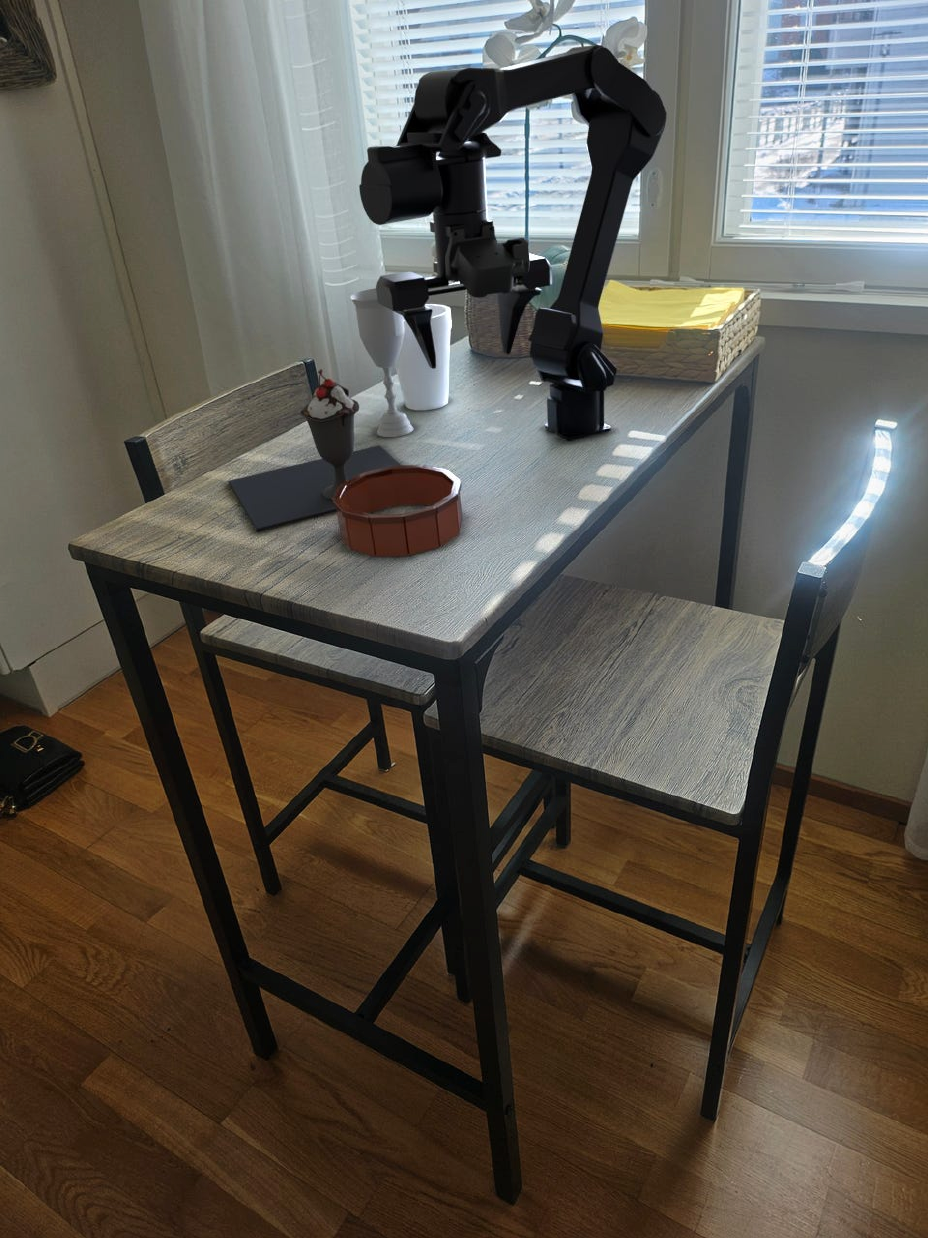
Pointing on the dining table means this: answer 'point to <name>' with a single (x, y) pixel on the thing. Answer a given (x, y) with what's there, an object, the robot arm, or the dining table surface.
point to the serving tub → (401, 529)
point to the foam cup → (426, 364)
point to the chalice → (382, 353)
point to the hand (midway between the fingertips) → (470, 360)
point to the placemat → (300, 488)
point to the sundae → (332, 427)
